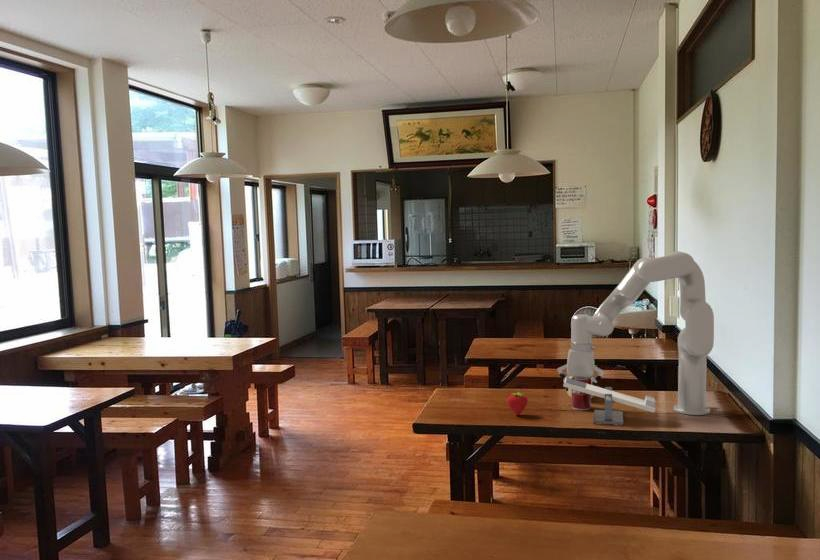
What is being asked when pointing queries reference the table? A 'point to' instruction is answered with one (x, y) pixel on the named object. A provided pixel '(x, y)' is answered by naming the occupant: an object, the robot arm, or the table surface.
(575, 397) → the soda can
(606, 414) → the fulcrum stand
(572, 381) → the beam
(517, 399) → the strawberry
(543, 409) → the table surface
